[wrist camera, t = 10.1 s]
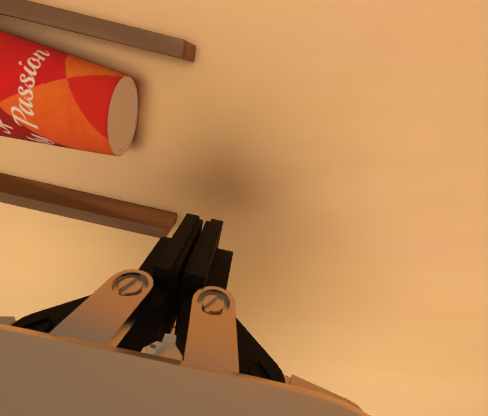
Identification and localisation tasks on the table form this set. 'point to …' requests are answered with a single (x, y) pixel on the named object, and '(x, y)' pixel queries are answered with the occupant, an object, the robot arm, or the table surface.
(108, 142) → the paper cup
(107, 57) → the table surface
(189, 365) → the robot arm
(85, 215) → the u rest
